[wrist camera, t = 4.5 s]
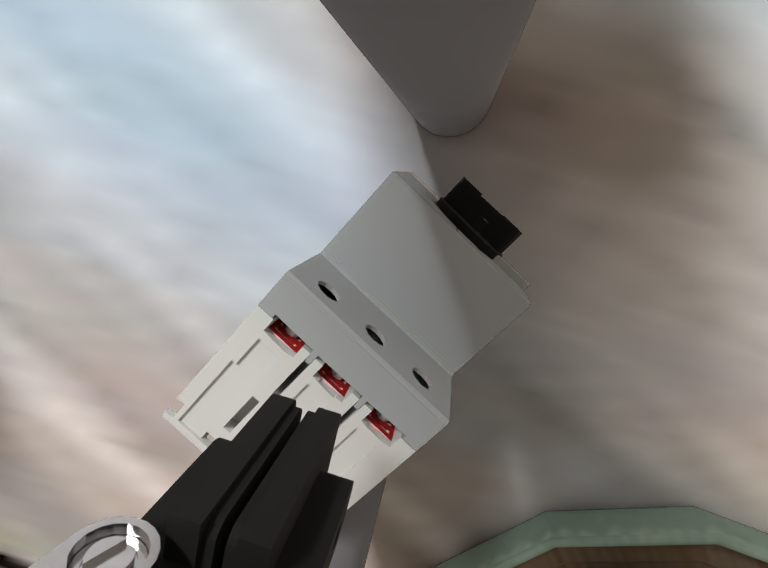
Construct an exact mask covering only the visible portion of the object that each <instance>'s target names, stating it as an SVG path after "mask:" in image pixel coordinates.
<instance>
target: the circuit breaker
mask: <svg viewBox="0 0 768 568" xmlns="http://www.w3.org/2000/svg"><path fill="white" fill-rule="evenodd" d="M481 195H482V194H481V193H480V192H479V191H478V190H477V189H476V188H475V187H474V186H473V185H472V184H471V183H470V182H469V181H468V180H467V179H466V178H465V177H463V179H462V180H461V181H460V182H459V183H458V184H457V185H456V186H455V187H454V188H453V190H452V191H451V192H450V193H449V194H448V195H447V196H446V197H445V198H443V197H441V198H440V199H439V198H438V197H437V196H436V195H435V194H434V193H433V192H432V191H431V190H430V189H429V188H428V187H427V186H426V185H425V184H424V183H423V182H422V181H421V180H420V179H419V178H418V177H417V176H416V175H415V174H414V173H411V172H392V173H391V174H390V175H389V177H388V178H387V179H386V180H385V181H384V182H383V183H382V184H381V186H380V187H379V188H378V189H377V190H376V191H375V192H374V193H373V195H372V196H371V197H370V198H369V199H368V200H367V201H366V202H365V204H364V205H363V206H362V207H361V208H360V209H359V210H358V211H357V213H356V214H355V215H354V216H353V217H352V218H351V219H350V220H349V222H348V223H347V224H346V225H345V226H344V227H343V228H342V229H341V231H340V232H339V233H338V234H337V235H336V236H335V237H334V238H333V240H332V241H331V242H330V243H329V244H328V245H327V246H326V247H325V249H324V250H323V251H322V252H321V253H319V254H317V255H316V256H314V257H312V258H310V259H308V260H307V261H305V262H303V263H301V264H299V265H298V266H296V267H294V268H292V269H291V270H289V271H288V272H287V273H286V274H285V275H284V276H283V277H282V278H281V279H280V280H279V282H278V283H277V284H276V285H275V286H274V287H273V288H272V290H271V291H270V292H269V293H268V294H267V295H266V296H265V298H264V299H263V300H262V301H261V302H260V303H259V304H258V306H257V307H256V308H255V309H254V310H253V311H252V312H251V314H250V315H249V316H248V317H247V318H246V319H245V320H244V322H243V323H242V324H241V325H240V326H239V327H238V328H237V330H236V331H235V332H234V333H233V334H232V335H231V336H230V338H229V339H228V340H227V341H226V342H225V343H224V344H223V346H222V347H221V348H220V349H219V350H218V351H217V353H216V354H215V355H214V356H213V357H212V358H211V359H210V361H209V362H208V363H207V364H206V365H205V366H204V367H203V369H202V370H201V371H200V372H199V373H198V374H197V375H196V377H195V378H194V379H193V380H192V381H191V382H190V383H189V385H188V386H187V387H186V388H185V389H184V390H183V391H182V393H181V394H180V395H179V396H178V397H177V399H179V400H180V401H181V402H182V403H183V404H184V406H183V407H182V408H181V409H180V410H179V412H178V413H177V412H176V411H175V410H174V409H173V408H172V407H170V408H169V409H167V410H166V411H165V412H164V413H163V414H162V416H163V417H164V418H165V419H166V420H168V421H169V422H170V423H171V424H172V425H173V426H174V427H175V428H176V429H178V430H179V431H180V432H181V433H182V434H183V435H184V436H185V437H186V438H187V439H189V440H190V441H191V442H192V443H193V444H194V445H195V446H196V447H197V448H199V449H200V450H201V451H202V452H204V451H205V450H206V449H207V448H208V446H209V445H210V444H211V443H212V442H211V441H210V440H209V439H208V438H207V437H206V436H207V435H208V434H210V435H211V436H212V437H213V438H214V439H215V440H216V439H217V438H220V437H221V438H224V439H227V440H230V441H232V440H233V439H234V437H235V436H236V435H237V434H238V433H239V432H240V430H241V429H242V428H243V427H244V426H245V425H246V423H247V422H248V421H249V420H250V419H251V418H252V417H253V415H254V414H255V413H256V412H257V411H258V410H259V408H260V407H261V406H262V405H263V404H264V403H265V402H266V400H267V399H268V398H269V397H270V396H271V395H272V394H273V393H275V394H279V395H282V396H285V397H288V398H291V399H295V400H296V407H299V408H302V416H301V420H302V419H303V417H304V416H305V414H306V413H307V411H312V412H316V410H317V409H318V408H319V407H320V408H323V409H327V410H330V411H333V412H336V413H339V414H341V419H340V424H339V428H338V432H337V436H336V440H335V444H334V449H333V453H332V457H331V461H330V465H329V469H328V473H331V474H334V475H337V476H340V477H343V478H346V479H349V480H352V481H354V484H353V488H352V492H351V496H350V500H349V504H348V507H347V510H348V509H349V508H350V507H351V506H352V505H354V504H355V503H356V502H357V501H358V500H359V499H361V498H362V497H363V496H364V495H365V494H366V493H368V492H369V491H370V490H371V489H372V488H373V487H375V486H376V485H377V484H378V483H379V482H381V481H382V480H383V479H384V478H385V477H386V476H388V475H389V474H390V473H391V472H392V471H393V470H395V469H396V468H397V467H398V466H399V465H401V464H402V463H403V462H404V461H405V460H406V459H408V458H409V457H410V456H411V455H412V454H413V453H415V452H416V451H417V450H418V449H419V448H420V447H422V446H423V445H424V444H425V443H426V442H428V441H429V440H430V439H431V438H432V437H433V436H435V435H436V434H437V433H438V432H439V431H440V430H442V429H443V428H444V427H445V426H446V425H447V424H448V423H449V421H450V402H451V381H452V376H453V374H454V373H455V372H457V371H458V370H459V369H460V368H461V367H462V366H463V365H464V364H465V363H467V362H468V361H469V360H470V359H471V358H472V357H473V356H474V355H476V354H477V353H478V352H479V351H480V350H481V349H482V348H483V347H484V346H486V345H487V344H488V343H489V342H490V341H491V340H492V339H493V338H494V337H496V336H497V335H498V334H499V333H500V332H501V331H502V330H503V329H505V328H506V327H507V326H508V325H509V324H510V323H511V322H512V321H513V320H515V319H516V318H517V317H518V316H519V315H520V314H521V313H522V312H523V311H525V310H526V309H527V308H528V307H529V306H530V305H531V304H530V301H529V299H528V297H527V295H526V293H525V292H524V291H525V290H526V289H527V288H528V287H529V286H530V285H529V283H528V282H527V281H526V280H525V279H524V278H523V277H522V276H521V275H520V274H519V273H518V272H517V271H516V270H515V269H514V268H513V267H512V266H511V265H510V264H508V263H507V262H506V261H505V260H504V259H503V258H502V254H501V253H502V252H503V251H504V250H505V249H507V248H508V247H509V246H510V245H511V244H512V243H513V242H514V241H515V240H516V239H517V238H518V237H519V236H520V235H521V234H522V233H521V232H520V231H519V230H518V229H517V228H516V227H515V226H514V225H513V224H512V223H511V222H510V221H509V220H508V219H507V218H506V217H505V216H502V215H501V214H500V213H499V212H498V211H497V210H496V209H495V208H493V207H492V206H491V205H490V204H489V203H488V202H487V201H486V200H485V199H484V198H482V197H481ZM300 422H301V421H300Z"/></svg>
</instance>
